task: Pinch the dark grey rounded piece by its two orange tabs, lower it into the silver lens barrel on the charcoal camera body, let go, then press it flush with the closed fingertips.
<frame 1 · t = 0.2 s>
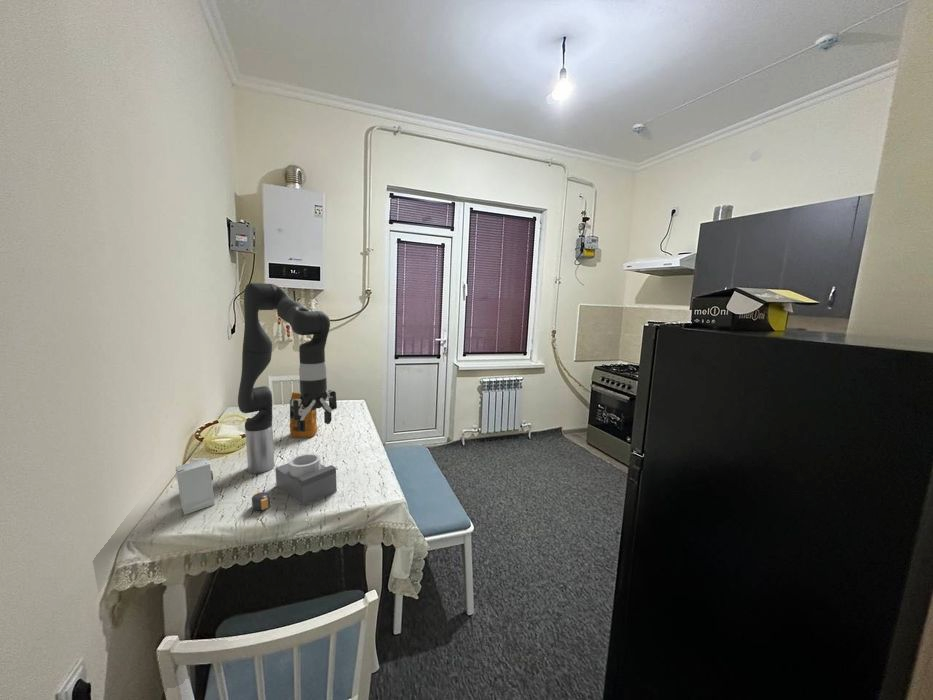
hand: (315, 427, 107), 28 cm above the table, tool pointing down, fingers open, 8 cm apart
camera body: (306, 488, 124), on the table
skincare box: (197, 507, 112), on the table
coffee package: (304, 434, 173), on the table
dark grey rounded piece: (261, 507, 113), on the table
fruit: (201, 489, 122), on the table
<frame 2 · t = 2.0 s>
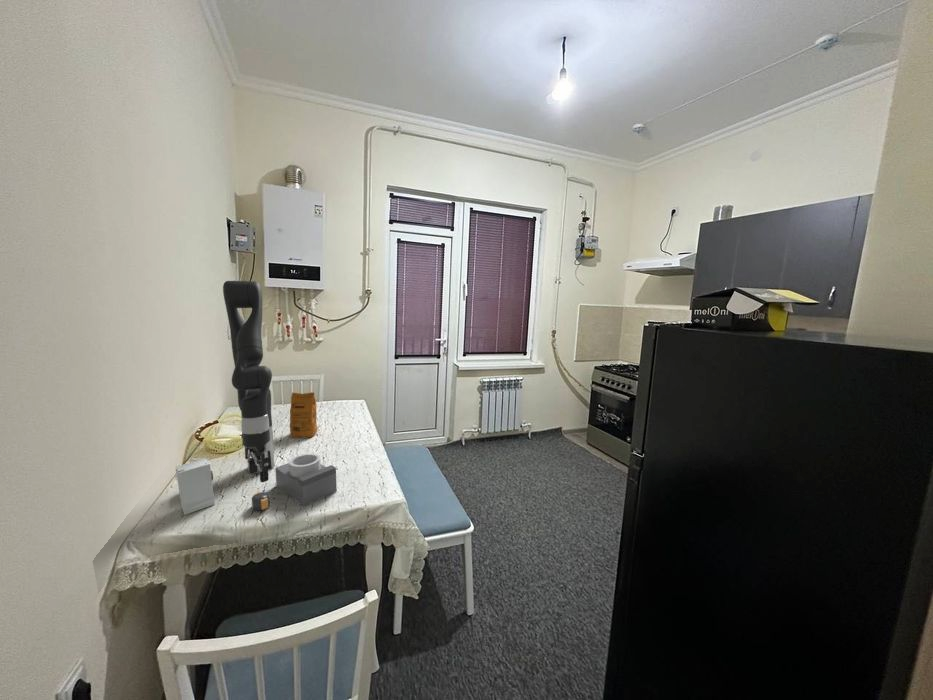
hand: (258, 476, 111), 11 cm above the table, tool pointing down, fingers open, 8 cm apart
nothing on the table moved.
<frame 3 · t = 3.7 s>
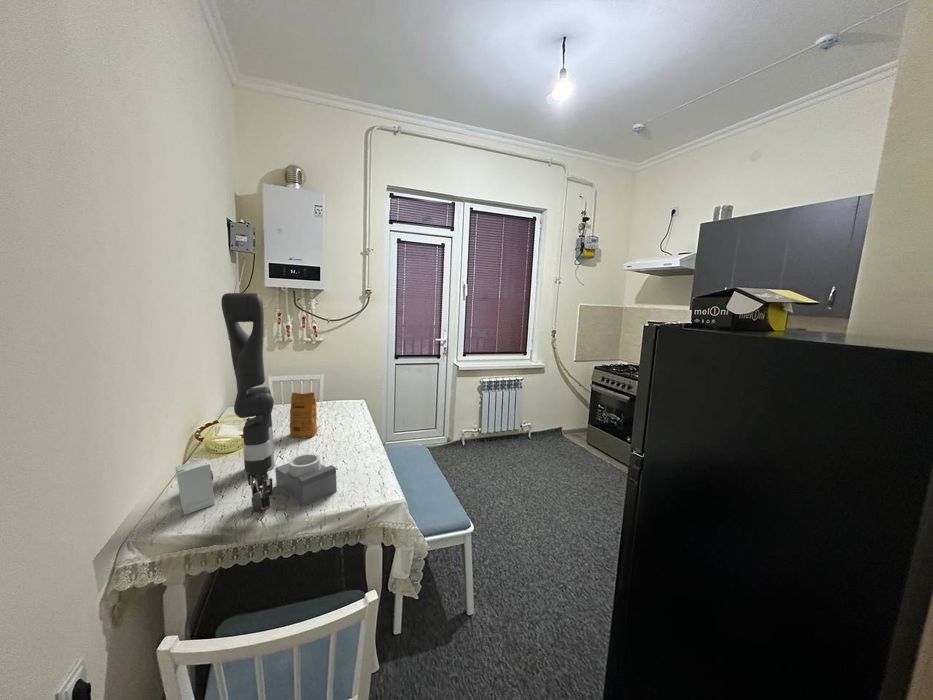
hand: (261, 502, 112), 2 cm above the table, tool pointing down, fingers closed on dark grey rounded piece, 6 cm apart
dark grey rounded piece: (261, 507, 113), on the table, touching gripper
everything else where it was.
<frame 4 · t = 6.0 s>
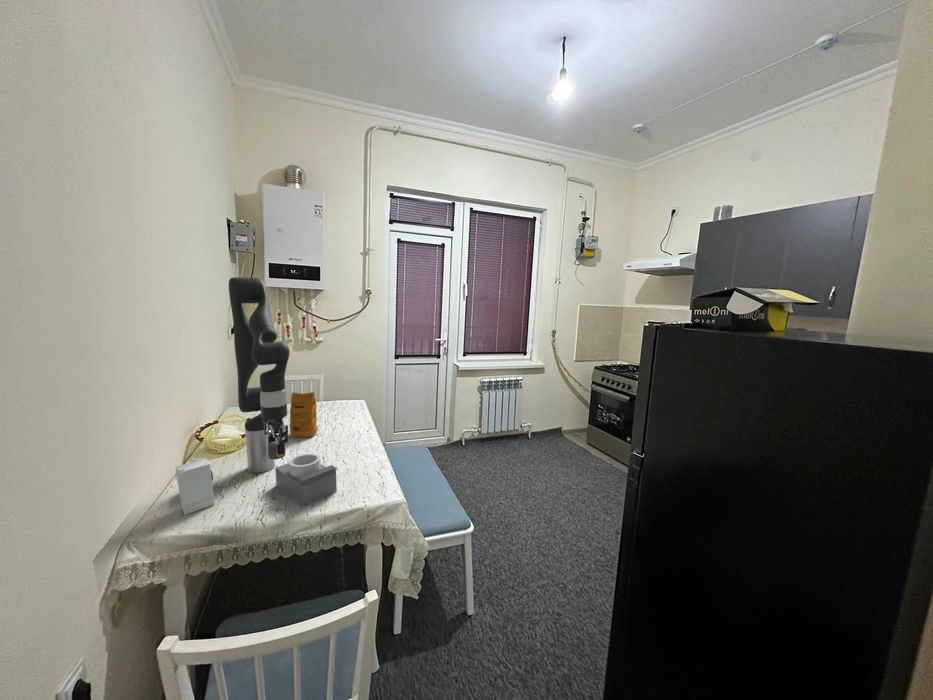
hand: (276, 450, 115), 17 cm above the table, tool pointing down, fingers closed on dark grey rounded piece, 6 cm apart
dark grey rounded piece: (276, 455, 115), point 16 cm above the table, touching gripper
everything else where it was.
when the fingers open (12 cm above the table, at t = 8.3 s): dark grey rounded piece drops 3 cm, resting on camera body.
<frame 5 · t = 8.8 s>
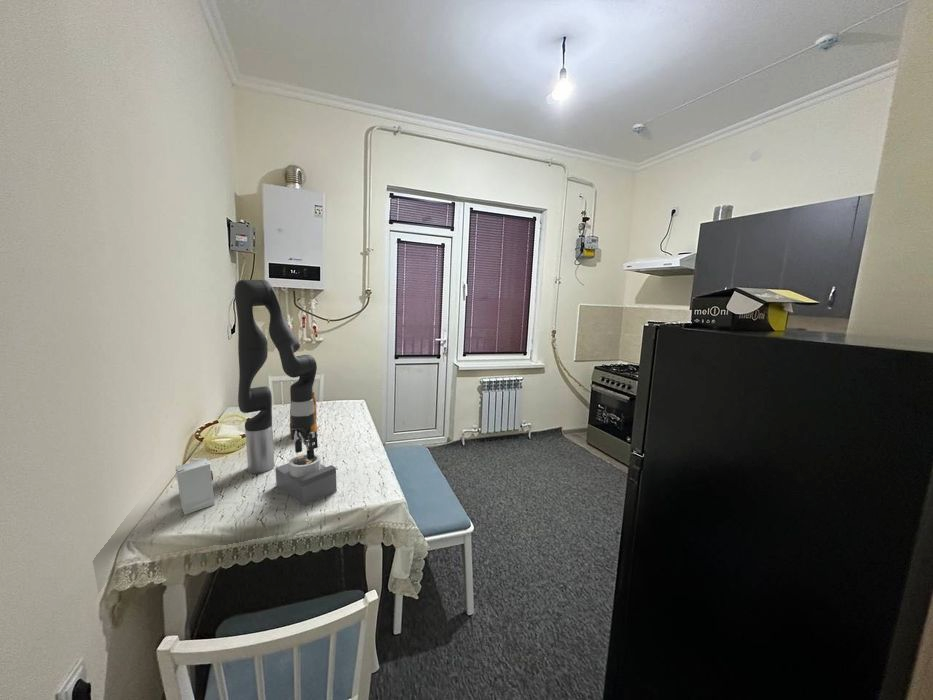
hand: (304, 455, 122), 13 cm above the table, tool pointing down, fingers open, 8 cm apart
dark grey rounded piece: (305, 470, 123), point 7 cm above the table, touching camera body
everything else where it was.
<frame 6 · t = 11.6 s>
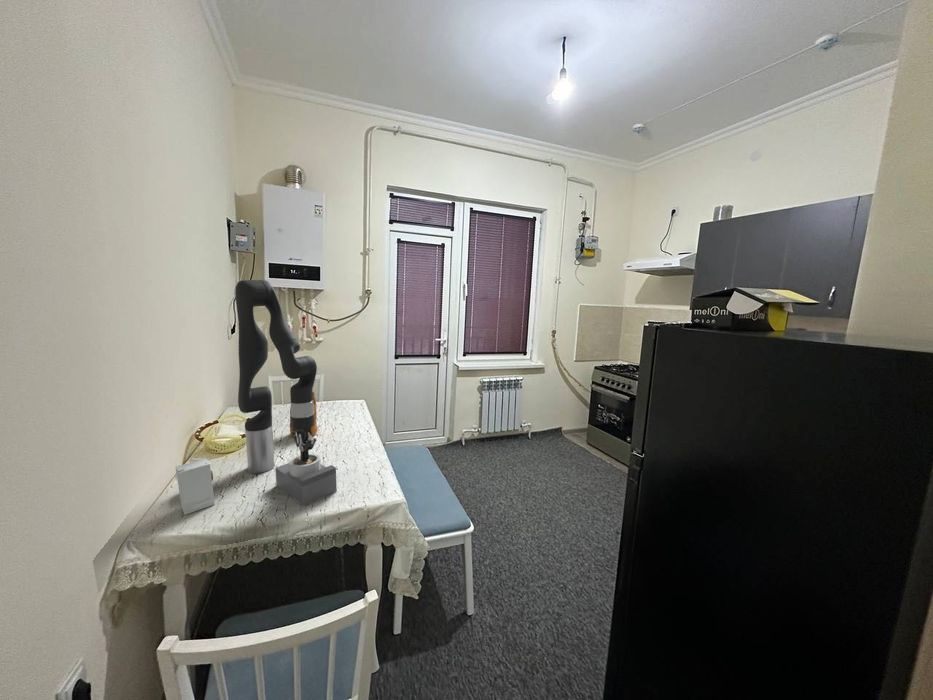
hand: (304, 459, 123), 11 cm above the table, tool pointing down, fingers closed
dark grey rounded piece: (305, 470, 123), point 7 cm above the table, touching camera body, gripper
everything else where it was.
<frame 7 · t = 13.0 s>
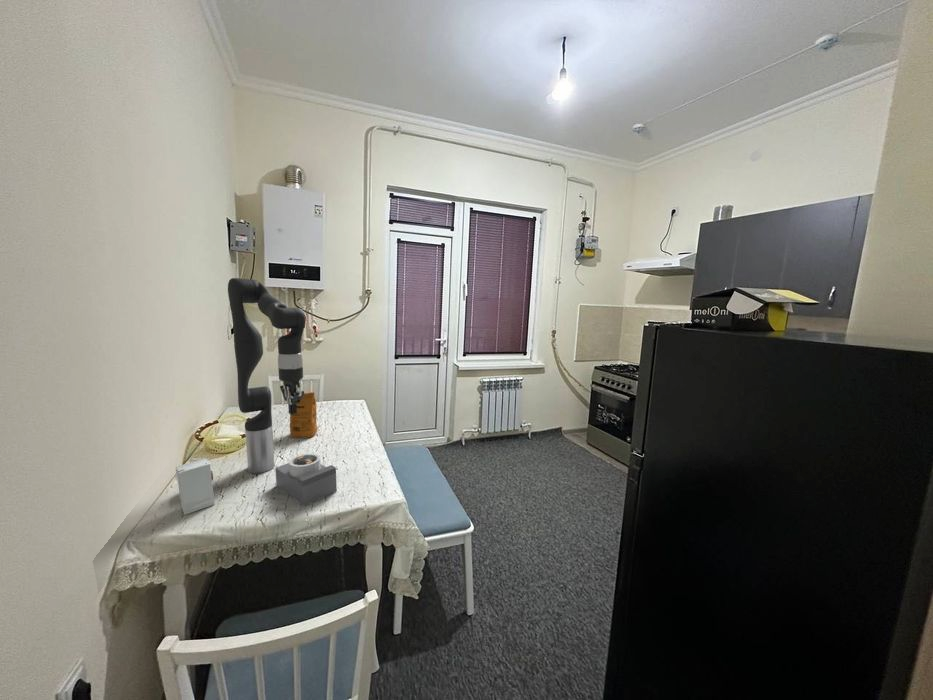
hand: (292, 413, 121), 28 cm above the table, tool pointing down, fingers closed
dark grey rounded piece: (305, 470, 123), point 7 cm above the table, touching camera body
everything else where it was.
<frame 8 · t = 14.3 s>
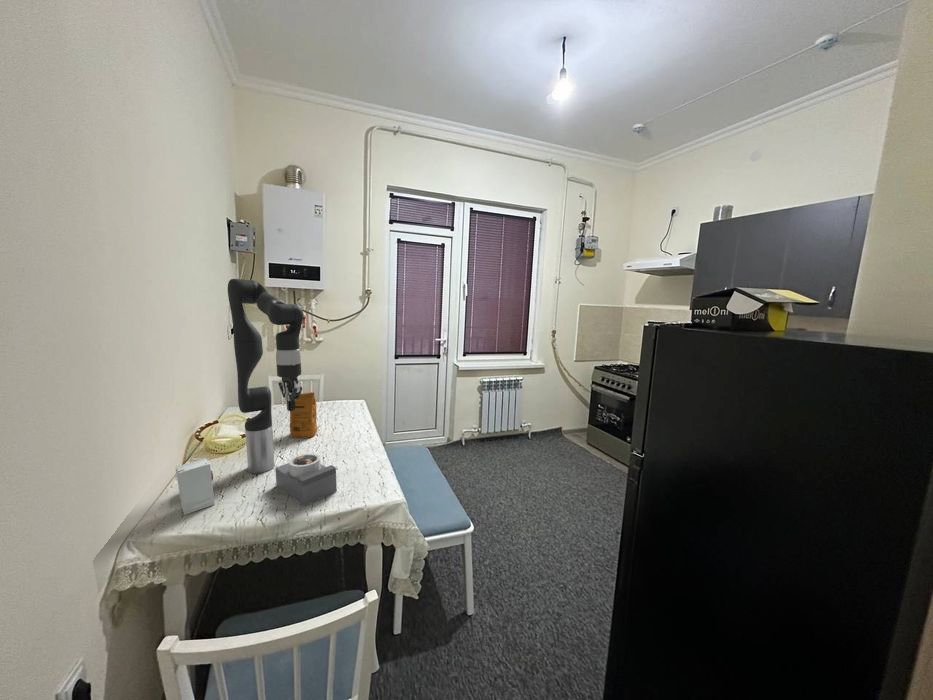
hand: (291, 410, 121), 29 cm above the table, tool pointing down, fingers closed
nothing on the table moved.
at the end: dark grey rounded piece 0.0 cm off-centre on the camera body, point 7.0 cm above the camera body's base; dark grey rounded piece tilted 0°; the gripper is holding nothing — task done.
